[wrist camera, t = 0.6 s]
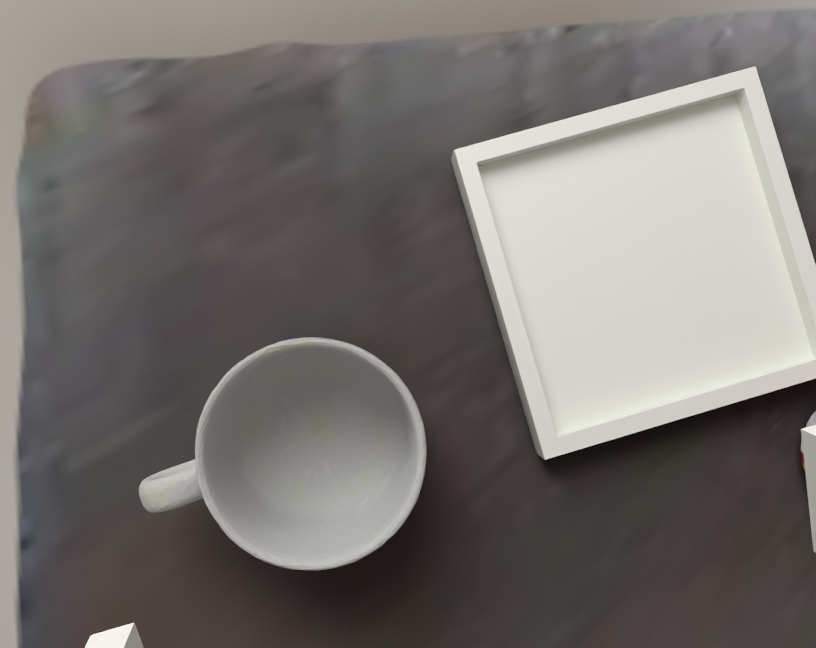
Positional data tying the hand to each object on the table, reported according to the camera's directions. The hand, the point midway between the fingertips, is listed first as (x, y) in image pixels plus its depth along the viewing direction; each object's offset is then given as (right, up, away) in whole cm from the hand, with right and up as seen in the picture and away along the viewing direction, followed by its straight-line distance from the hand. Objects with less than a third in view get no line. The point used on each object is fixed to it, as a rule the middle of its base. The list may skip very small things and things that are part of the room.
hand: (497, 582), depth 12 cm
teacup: (-8, -2, +25) cm, 27 cm away
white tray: (+12, +8, +26) cm, 30 cm away
